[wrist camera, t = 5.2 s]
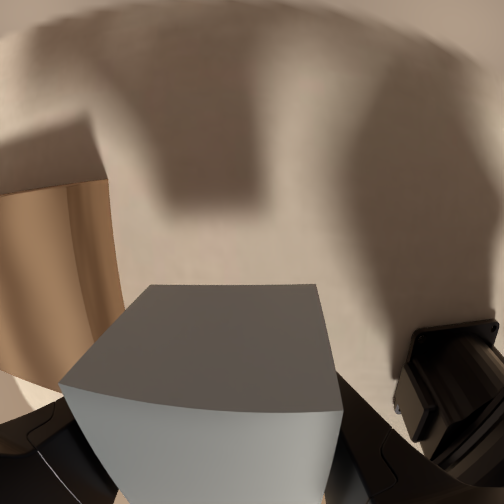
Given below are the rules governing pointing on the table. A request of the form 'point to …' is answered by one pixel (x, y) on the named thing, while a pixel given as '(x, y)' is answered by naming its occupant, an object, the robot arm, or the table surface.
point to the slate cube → (212, 396)
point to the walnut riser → (55, 278)
